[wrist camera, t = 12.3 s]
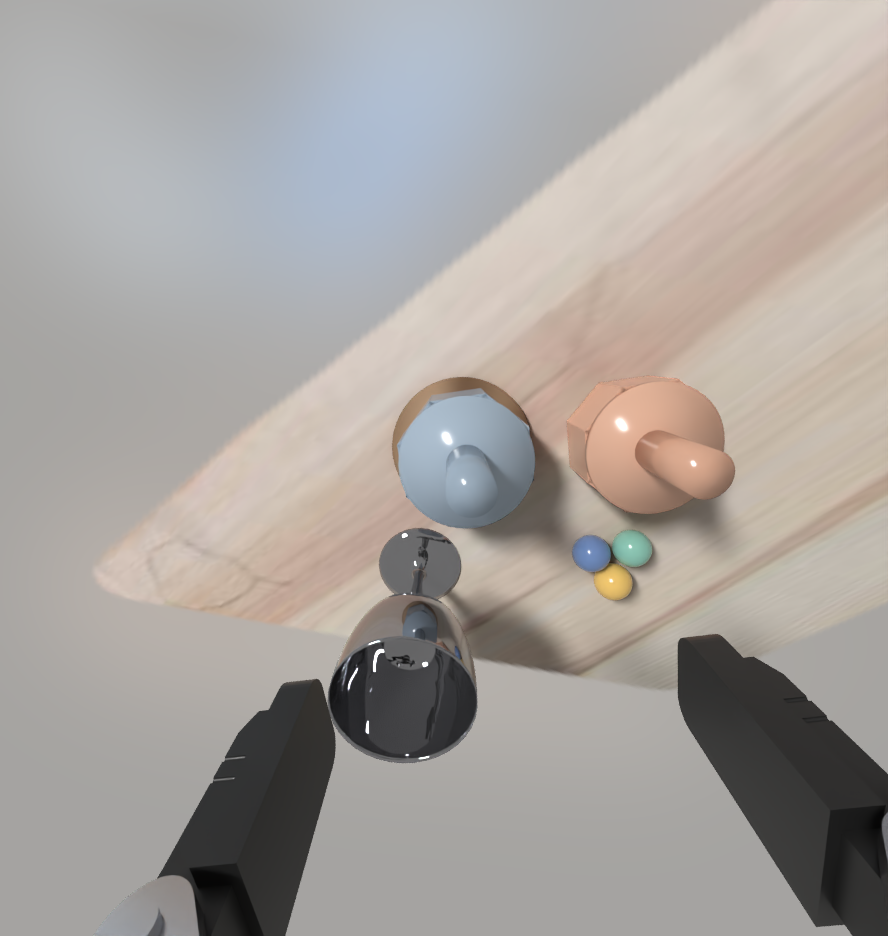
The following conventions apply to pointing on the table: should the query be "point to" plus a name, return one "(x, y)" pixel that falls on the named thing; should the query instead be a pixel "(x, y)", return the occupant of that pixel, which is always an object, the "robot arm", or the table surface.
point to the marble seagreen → (632, 548)
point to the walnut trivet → (447, 387)
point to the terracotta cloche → (649, 444)
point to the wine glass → (407, 659)
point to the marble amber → (613, 582)
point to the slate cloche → (466, 459)
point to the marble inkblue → (591, 553)
